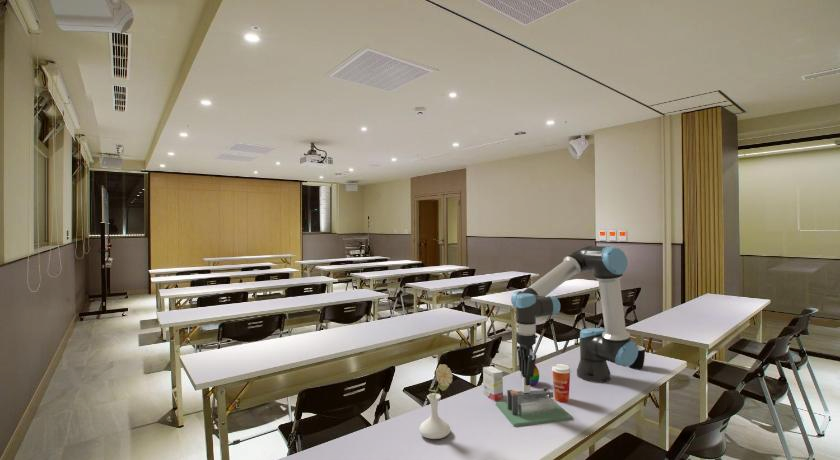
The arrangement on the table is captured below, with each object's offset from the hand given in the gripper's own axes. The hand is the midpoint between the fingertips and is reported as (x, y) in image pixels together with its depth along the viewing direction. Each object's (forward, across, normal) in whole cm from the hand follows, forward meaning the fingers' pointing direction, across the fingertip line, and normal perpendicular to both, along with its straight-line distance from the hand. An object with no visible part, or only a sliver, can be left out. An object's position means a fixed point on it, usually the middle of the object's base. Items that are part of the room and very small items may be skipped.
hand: (526, 391), depth 158 cm
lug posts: (+8, 0, -6) cm, 10 cm away
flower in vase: (+9, +7, -38) cm, 40 cm away
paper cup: (+8, -7, +20) cm, 22 cm away
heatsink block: (+7, 0, +3) cm, 8 cm away
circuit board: (+8, 0, +3) cm, 9 cm away
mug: (+7, -33, +75) cm, 82 cm away
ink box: (+9, -17, -7) cm, 20 cm away
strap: (+1, 0, +2) cm, 2 cm away
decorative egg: (+8, -26, +15) cm, 31 cm away
